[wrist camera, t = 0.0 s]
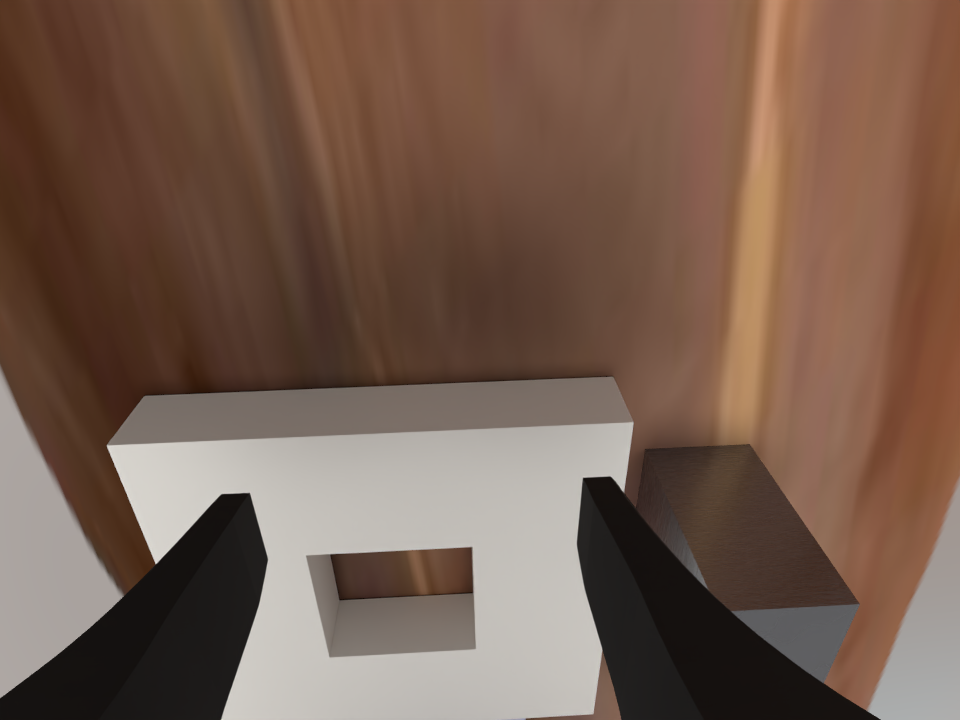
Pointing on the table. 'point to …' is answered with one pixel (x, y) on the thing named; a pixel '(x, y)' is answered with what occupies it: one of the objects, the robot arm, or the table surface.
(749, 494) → the square peg
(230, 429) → the hole board
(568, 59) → the table surface
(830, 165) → the table surface
